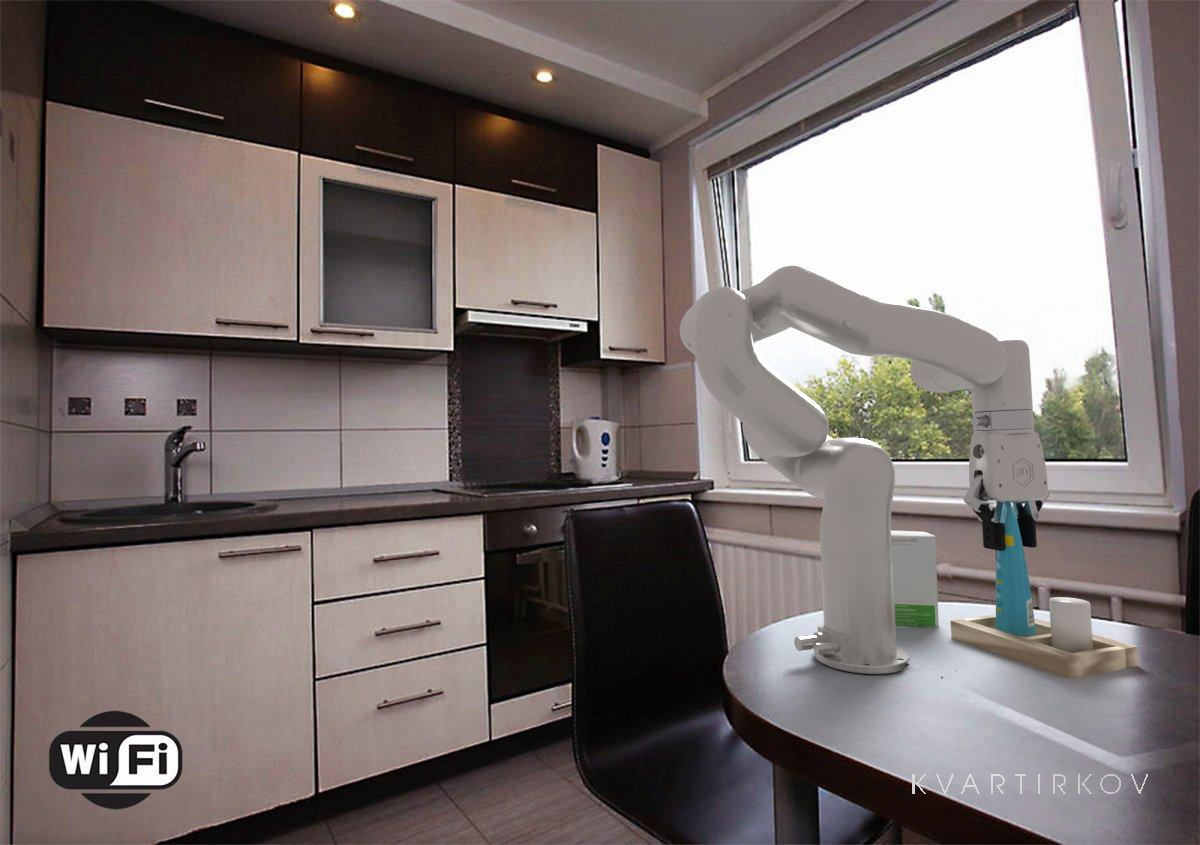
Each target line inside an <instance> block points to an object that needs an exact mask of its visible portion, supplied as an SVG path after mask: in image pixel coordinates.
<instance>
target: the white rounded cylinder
mask: <svg viewBox="0 0 1200 845" xmlns="http://www.w3.org/2000/svg"><path fill="white" fill-rule="evenodd" d="M1048 603H1049V604H1048V605H1049V619H1050V622H1049V623H1050V624H1051V641H1052V647H1054V648H1057V649H1060V650H1063V651H1067V652H1070V653H1077V652H1084V651H1090V650H1093V642H1092V634H1093V631H1092V630H1093V629H1092V628H1093V627H1092V626H1093V625H1092V614H1091V603H1090V601H1088V600H1085V599H1081V598H1075V597H1069V596H1068V597H1067V596H1065V597H1063V596H1057V597H1056V596H1054V597H1050V598H1048Z"/></svg>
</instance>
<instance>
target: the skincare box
mask: <svg viewBox="0 0 1200 845" xmlns="http://www.w3.org/2000/svg"><path fill="white" fill-rule="evenodd" d="M891 546H892V562H893V582H894V603H895V623H896V631H898V630H899V631H902V630H909V629H915V628H924V627H939V622H940V621H939V600H938V599H939V596H938V592H939V591H938V571H937V540H936V535H934V534H931V533H928V532H926V531H917V530H916V531H913V530H911V531H910V530H909V531H908V530H891Z"/></svg>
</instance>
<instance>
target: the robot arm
mask: <svg viewBox="0 0 1200 845" xmlns="http://www.w3.org/2000/svg"><path fill="white" fill-rule="evenodd" d="M679 325H680V326H679V336H680V340H681V342H682V344H683V345H684V347H685V348H686V349H687V350H688V351H689V352H690V353H691V354H694V356H695V361H696V366H697V368H698V372H699V375H700V377H701V379H702V381H703V384H704V385H705V388H706V390H708V392H709V393H710V394H711V395H712V396H713V397H714V399H715V400H716V401H717V402H718V403H720V405H722V406H723V407H724V408H725V409H726V410H727V411H728V412H729V413H730V414H732V415H733V416H734V417H736V419H738V420H739V422H741V423H742V431H743V437H744V439H745V441H746V443H747V445H748V446H749V447H750V449H751V450H752V451H753V452H754V453H755V454H756V455H757V456H758V457H759V458H760V459H762V460H764V461H765V462H766V463H767V464H768V465H770V466H771V467H772V468H773V469H775V470H776V471H777V472H779V473H780V474H781V475H782V476H784V477H785V478H787V479H788V480H789V481H791V482H792V483H793V484H794V485H795V486H797V487H798V488H799V489H801V490H802V491H804V492H805V493H807V494H809V495H810V496H811V497H812V496H813V497H815V498H818V499H821V500H823V505H822V511H821V516H820V524H819V546H820V559H821V560H820V562H821V563H820V564H821V566H820V568H821V584H822V585H821V586H822V587H821V588H822V607H823V608H822V609H823V624H822V625H820V624H819V625H817V631H816V632H814V633H813V634H812V635H800V636H799V635H798V636H796V637H795V638H794V642H793V644H794V647H795V649H796V650H797V651H798V652H801V651H808V650H812V649H813V655H814V657H815V659H816V660H817V661H818V662H820V663H821V664H824V665H825V666H827V667H830V668H832V669H836V670H840V671H845V672H849V673H856V674H868V675H884V674H885V675H886V674H893V673H897V672H901V671H903V670H905V669H907V668H909V666H910V663H908V662H909V661H910V655H909V653H908V652H907V651H906V650H905V649H903V648H901V647H899V646H897V632H896V631H897V630H896V623H895V603H894V582H893V562H892V546H891V531H892V508H893V500H894V493H895V487H896V486H895V485H896V470H895V466H894V463H893V461H892V459H891V456H890V455H889V453H888V452H887V451H886V450H885V449H884V448H883V447H882V446H881V445H880V444H878V443H876V442H874V441H871V440H869V439H866V438H860V437H838V438H837V437H836V438H832V437H831V436H829V431H830V423H829V419H828V417H827V415H826V413H825V411H824V410H823V409H822V408H821V407H820V405H819V404H817V402H815V401H814V400H813V399H811V398H810V397H809V396H807V395H806V394H805V393H803V392H802V391H800V390H799V389H798V388H797V387H795V385H793V384H792V383H790V382H789V381H788V380H786V379H785V378H784V377H783V376H781V375H780V374H779V373H777V371H776V370H774V369H773V368H772V367H771V366H770V365H768V363H767V362H765V361H764V359H763V358H762V357H761V356H760V354H759V352H758V351H757V349H756V347H755V343H757V342H760V341H762V340H764V339H767V338H770V337H772V336H775V335H777V334H779V333H782V332H785V331H786V330H789V329H790V328H792V329H795V330H797V331H799V332H801V333H803V334H807V335H808V336H811V337H813V338H815V339H817V340H819V341H821V342H824V343H826V344H828V345H830V346H832V347H835V348H838V349H840V350H841V351H843V352H846V353H848V354H852V355H858V356H863V357H875V358H876V357H881V358H882V357H884V358H885V357H888V358H889V357H890V358H900V359H905V360H906V359H907V360H910V361H911V363H910V366H909V373H910V377H911V378H912V380H913V382H914V383H915V384H916V385H917V386H918V387H919V388H921V389H923V390H924V391H927V392H930V393H935V394H937V393H938V394H939V393H940V394H942V393H944V394H945V393H950V392H952V393H953V392H957V391H961V390H962V391H963V390H971V404H972V405H971V406H972V418H971V420H970V423H971V425H972V426H973V434H971V439H970V447H969V461H968V462H969V463H968V481H969V488H968V490H967V492H966V494H965V495H964V497H963V502H964V503H965V504H966V505H967V506H969V508H971V509H972V511H973V512H974V513H975V515H976V516H977V520H979V522H981V526H982V527H981V528H982V544H983V545H982V547H983V548H984V549H987V550H994V551H997V550H998V551H1004V550H1005V529H1004V523H1001V522H1000V519H1001V513H1002V507H1003V502H1011V505H1012V507H1013V509H1014V512H1015V515H1016V518H1017V522H1018V526H1019V530H1020V535H1021V539H1022V544H1023V548H1024V547H1025V548H1034V549H1035V548H1037V546H1038V543H1037V541H1038V540H1037V528H1036V527H1037V525H1036V521H1037V520H1038V519H1039V517H1040V516H1039V514H1040V513H1039V512H1040V511H1041V509H1042V508H1043V505H1044V503H1045V502H1046V501H1047V500H1048V499H1049V497H1050V493H1049V486H1048V484H1049V483H1048V475H1047V474H1048V473H1047V472H1048V471H1047V465H1046V460H1045V454H1044V451H1043V450H1044V449H1043V445H1042V442H1041V438H1040V436H1039V433H1038V431H1036V432H1035V424H1034V423H1035V422H1034V407H1033V406H1034V405H1033V388H1032V374H1031V373H1032V372H1031V356H1030V348H1029V345H1028V343H1027V342H1026V341H1025V340H1023V339H1018V338H1002V339H1000V338H999V339H998V338H997V337H996V336H994V335H993V334H991V333H990V332H988V331H986V330H985V329H984V328H981V327H979V326H976V325H975V324H972V323H970V322H969V321H965V320H964V319H961V318H959V317H957V316H954V315H950V314H947V313H944V312H942V311H937V310H933V309H928V308H924V307H918V306H913V305H907V304H904V303H898V302H892V301H885V300H881V299H879V298H876V297H874V296H871V295H869V294H867V293H865V292H863V291H860V290H858V289H856V288H853V287H851V286H849V285H846V284H845V283H843V282H840V281H838V280H836V279H834V278H832V277H830V276H828V275H825V274H823V273H821V272H818V271H816V270H814V269H811V268H810V267H807V266H803V265H800V264H788V265H784V266H782V267H780V268H777V269H776V270H775V271H773V272H772V273H771V274H769V275H768V276H767V277H766V278H764V279H763V280H762V281H761V282H758V283H757V284H755V285H753V286H751V287H750V286H749V287H748V288H746V289H743V290H737V289H736V288H734V287H730V286H718V287H715V288H713V289H710V290H708V291H706V292H705V293H703V295H701V296H700V297H699V298H698V299H697V300H696V301H695V302H694V303H693V305H691V307H690V308H689V309H688V310H687V311H686V312H685V314H684V315H683V317H682V318H681V322H680V324H679ZM1023 504H1024V505H1023ZM990 506H992V510H991V508H990Z"/></svg>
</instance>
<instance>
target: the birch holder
mask: <svg viewBox="0 0 1200 845" xmlns="http://www.w3.org/2000/svg"><path fill="white" fill-rule="evenodd" d="M1034 620H1035V628H1036V633H1035V634H1034V635H1031V636H1015V635H1012V634H1009V633H1006V632H1002V631H999V630H997V629H996V614H992V615H983V616H975V617H966V618H962V619H961V618H959V619H953V620H950V633H951V634H950V636H951V638H952V639H955V640H958V641H960V642H963V643H966V644H968V645H971V646H974V647H977V648H980V649H983V650H986V651H988V652H992V653H995V654H997V655H999V656H1003V657H1005V658H1009V659H1011V660H1014V661H1016V662H1020V663H1022V664H1026V665H1029V666H1031V667H1033V668H1037V669H1040V670H1043V671H1045V672H1048V673H1050V674H1053V675H1056V676H1060V677H1062V678H1065V679H1073V678H1074V679H1075V678H1079V677H1085V676H1092V675H1098V674H1103V673H1109V672H1114V671H1120V670H1125V669H1126V670H1127V669H1133V668H1138V667H1140V663H1139V653H1138V652H1139V648H1138V646H1136V645H1133V644H1130V643H1129V644H1128V643H1126V642H1122V641H1118V640H1114V639H1111V638H1107V637H1104V636H1101V635H1100V636H1099V635H1097V634H1093V633H1092V642H1093V650H1090V651H1084V652H1077V653H1070V652H1067V651H1063V650H1060V649H1057V648H1054V647H1052V641H1051V624H1050V622H1048V621H1045V620H1042V619H1038V618H1035V617H1034Z"/></svg>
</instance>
